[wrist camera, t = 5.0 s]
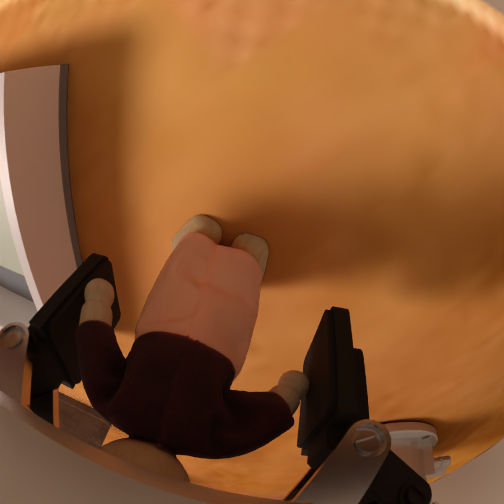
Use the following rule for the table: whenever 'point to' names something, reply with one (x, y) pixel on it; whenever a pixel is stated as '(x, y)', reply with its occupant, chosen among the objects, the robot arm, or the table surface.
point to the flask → (82, 421)
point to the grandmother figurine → (186, 358)
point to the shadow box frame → (34, 191)
